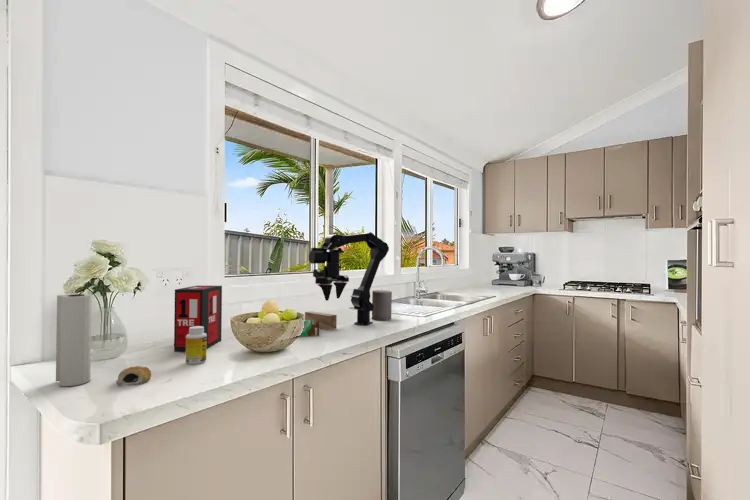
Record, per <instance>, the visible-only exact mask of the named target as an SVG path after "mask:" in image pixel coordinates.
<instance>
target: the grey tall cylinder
mask: <svg viewBox="0 0 750 500" xmlns="http://www.w3.org/2000/svg"><path fill="white" fill-rule="evenodd" d="M91 338H92V294H82V293H80V294H65V295H61V294H59V295H58V294H57V295H56V337H55V339H56V343H55V344H56V345H55V348H56V349H55V351H56V353H55V355H56V356H55V382H58V383H59V386H61V387H73V386H74V387H75V386H80V385H84V384H86V383H89V382H90V381H91V355H92V354H91V349H92V347H91V346H92V339H91Z"/></svg>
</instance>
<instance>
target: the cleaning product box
mask: <svg viewBox="0 0 750 500" xmlns="http://www.w3.org/2000/svg"><path fill="white" fill-rule="evenodd" d="M222 300H223V286H222V285H193V286H187V287H183V288H177V289H174V315H173V316H174V320H173V321H174V324H173V325H174V327H173V328H174V332H173V333H174V334H173V335H174V336H173V346H174V347H173V352H174V353H186V335H187V334H190V333H189V328H190V327H193V326H203V327H204V332H203V333H206V334H207V350H208V349H210V348H212V347H214V346H216V345H217V344H218V342H219V343H220V342H222V315H223V314H222V312H223V310H222V309H223V307H222V306H223V301H222Z"/></svg>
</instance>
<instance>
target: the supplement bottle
mask: <svg viewBox="0 0 750 500" xmlns="http://www.w3.org/2000/svg"><path fill="white" fill-rule="evenodd" d="M203 332H204V327H203V326H193V327H190V328H189V333H190V334H187V335H186V352H185V363H186V364H187V365H200V364H203V363H205V362H206V361H207V353H208V352H207V350H208V349H207V334H206V333H203Z"/></svg>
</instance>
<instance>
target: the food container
mask: <svg viewBox="0 0 750 500" xmlns="http://www.w3.org/2000/svg"><path fill="white" fill-rule="evenodd" d="M304 320H305V319H304ZM313 336H315V337H316V336H320V328H319V321H318V320H305V321H304V328H303V331H302V333H301V335H300V336H299V337H313Z"/></svg>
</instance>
